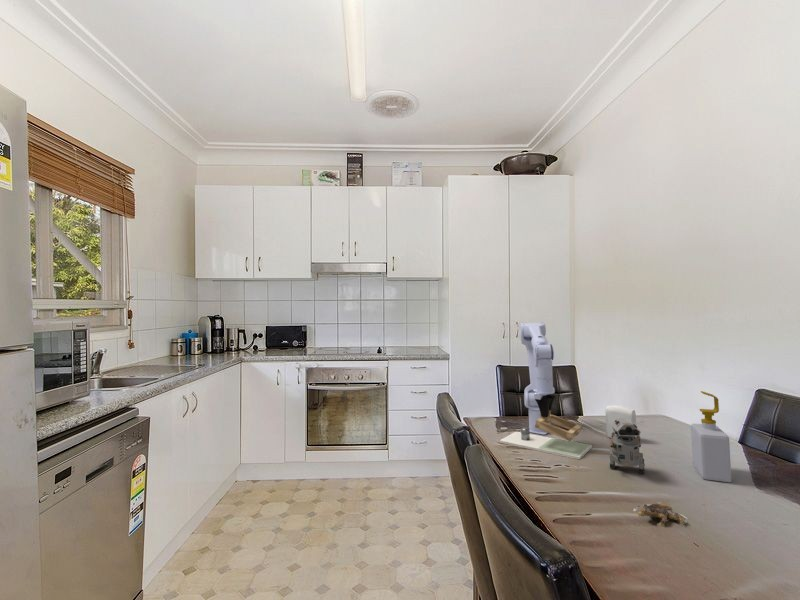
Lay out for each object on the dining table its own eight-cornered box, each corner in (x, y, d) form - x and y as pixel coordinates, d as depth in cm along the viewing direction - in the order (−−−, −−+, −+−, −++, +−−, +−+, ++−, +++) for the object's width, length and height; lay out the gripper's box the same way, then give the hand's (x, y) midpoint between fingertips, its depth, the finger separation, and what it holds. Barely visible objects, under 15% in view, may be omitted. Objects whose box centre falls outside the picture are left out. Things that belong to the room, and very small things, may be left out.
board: (515, 433, 157) (515, 431, 157) (591, 447, 139) (591, 445, 139) (499, 442, 146) (499, 440, 146) (579, 459, 128) (579, 456, 128)
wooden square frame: (545, 419, 148) (548, 404, 148) (580, 432, 140) (583, 417, 140) (532, 426, 139) (535, 411, 139) (569, 441, 131) (573, 425, 130)
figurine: (608, 476, 115) (606, 423, 115) (610, 462, 125) (608, 414, 125) (645, 482, 110) (643, 427, 111) (644, 468, 120) (642, 417, 120)
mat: (552, 438, 147) (552, 438, 147) (589, 445, 139) (589, 444, 139) (538, 448, 137) (538, 447, 137) (578, 456, 129) (578, 455, 129)
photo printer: (604, 437, 149) (603, 404, 150) (609, 435, 152) (608, 402, 153) (634, 444, 141) (632, 409, 142) (639, 441, 144) (637, 406, 145)
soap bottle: (692, 464, 122) (688, 387, 123) (719, 467, 119) (715, 388, 120) (702, 479, 111) (698, 395, 112) (732, 483, 108) (727, 397, 109)
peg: (523, 437, 149) (523, 426, 149) (531, 439, 147) (530, 428, 147) (520, 439, 147) (519, 428, 147) (527, 441, 145) (527, 430, 145)
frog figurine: (670, 539, 84) (669, 520, 84) (620, 513, 95) (619, 496, 95) (705, 527, 88) (704, 509, 88) (653, 503, 99) (652, 488, 99)
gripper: (540, 374, 151) (542, 410, 150) (525, 379, 140) (526, 418, 139) (559, 376, 146) (561, 413, 146) (545, 381, 135) (546, 421, 135)
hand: (545, 416), depth 142 cm, fingers closed on wooden square frame
